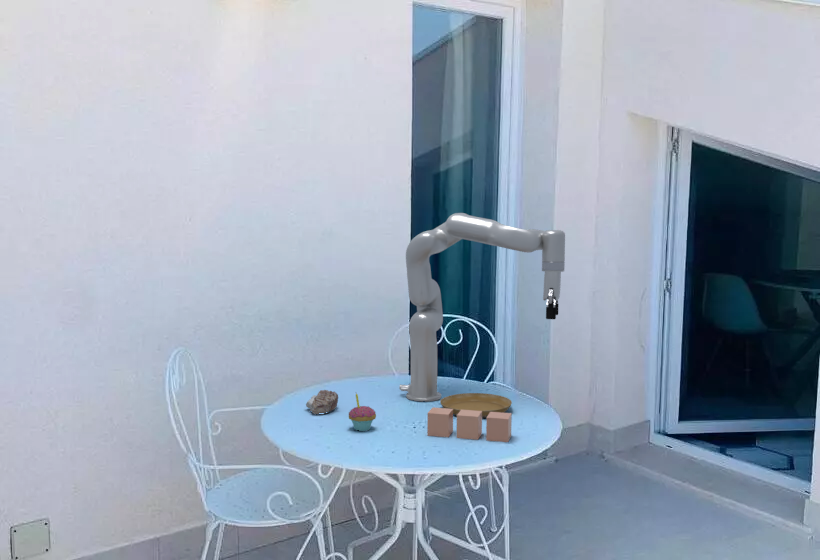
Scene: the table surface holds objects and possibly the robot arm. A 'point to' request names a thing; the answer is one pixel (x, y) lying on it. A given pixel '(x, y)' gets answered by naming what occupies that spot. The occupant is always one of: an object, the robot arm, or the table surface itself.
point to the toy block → (469, 424)
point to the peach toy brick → (440, 422)
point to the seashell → (323, 402)
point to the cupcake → (362, 416)
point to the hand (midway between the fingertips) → (552, 316)
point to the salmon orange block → (498, 426)
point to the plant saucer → (476, 403)
